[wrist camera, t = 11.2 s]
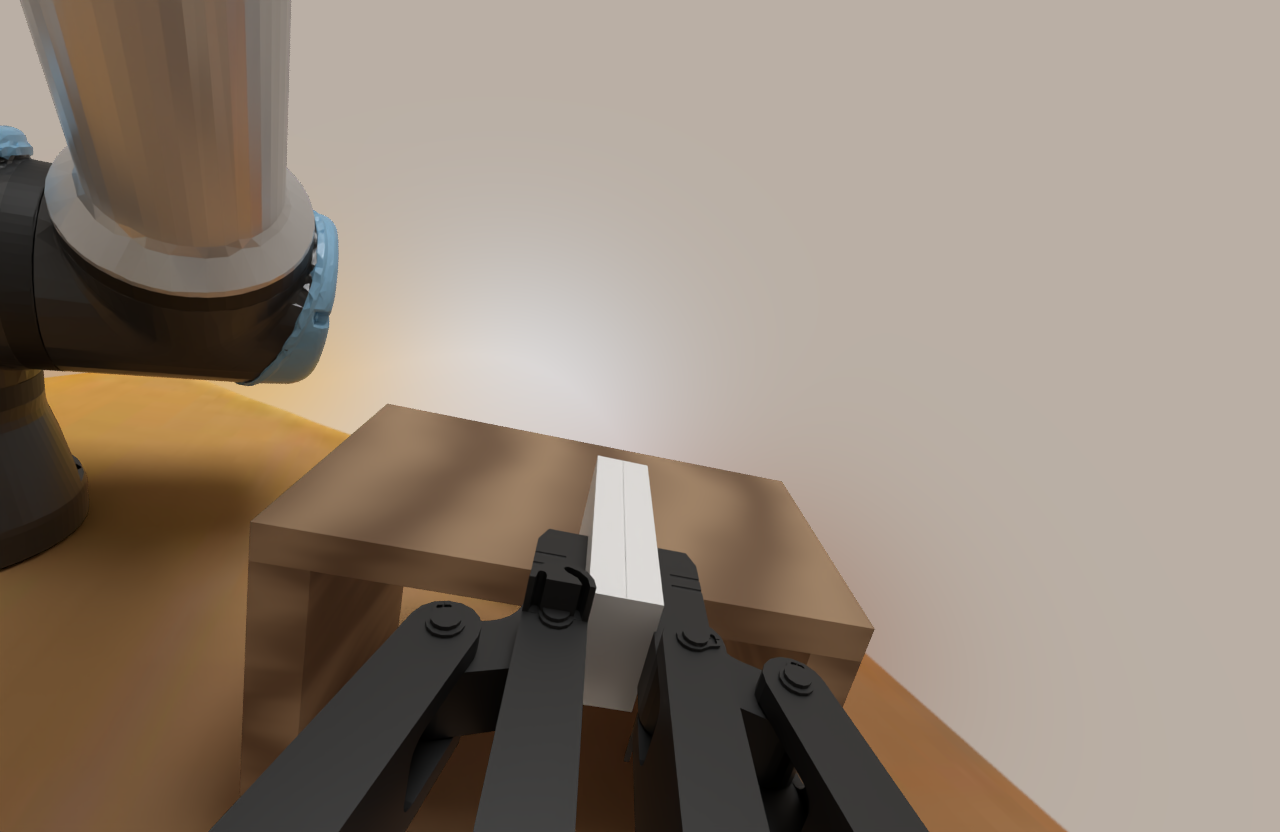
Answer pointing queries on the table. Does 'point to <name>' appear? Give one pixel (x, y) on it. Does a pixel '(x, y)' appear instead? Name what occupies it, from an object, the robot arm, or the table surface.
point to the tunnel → (504, 556)
